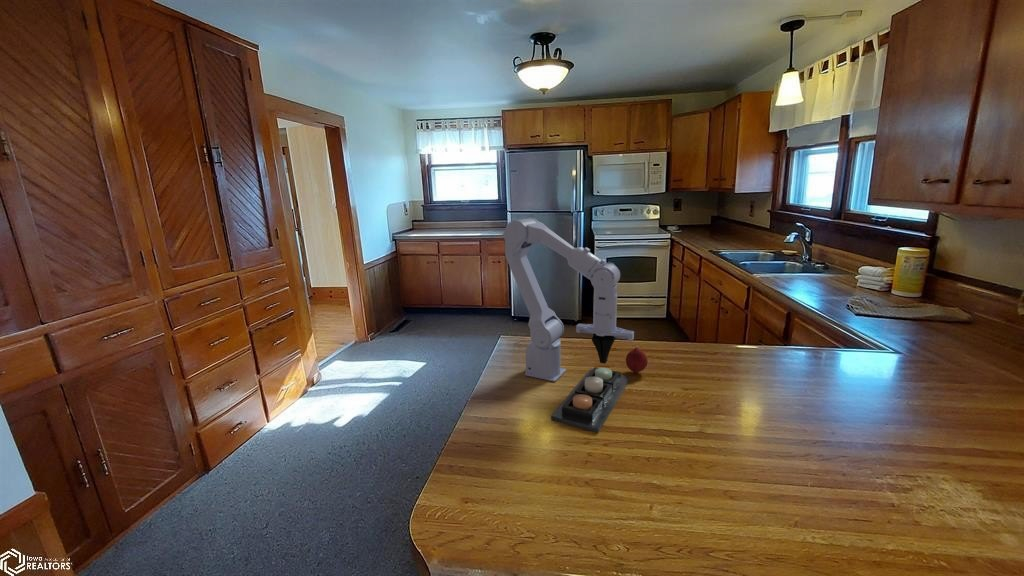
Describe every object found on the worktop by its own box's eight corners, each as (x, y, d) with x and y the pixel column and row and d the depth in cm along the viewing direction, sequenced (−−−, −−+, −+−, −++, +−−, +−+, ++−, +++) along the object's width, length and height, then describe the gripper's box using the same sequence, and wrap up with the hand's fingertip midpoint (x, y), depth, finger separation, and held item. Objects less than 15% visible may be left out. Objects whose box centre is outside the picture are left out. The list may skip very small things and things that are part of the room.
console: (550, 420, 93) (550, 408, 92) (590, 373, 116) (590, 363, 115) (598, 433, 88) (598, 420, 87) (629, 380, 111) (629, 370, 110)
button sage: (592, 382, 108) (592, 373, 107) (597, 375, 111) (598, 366, 111) (609, 385, 105) (609, 376, 105) (613, 378, 109) (614, 369, 109)
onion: (648, 378, 112) (649, 350, 110) (626, 377, 113) (627, 349, 111) (645, 369, 117) (646, 342, 115) (624, 368, 118) (625, 342, 116)
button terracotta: (570, 411, 94) (570, 401, 93) (576, 402, 98) (576, 392, 97) (588, 415, 92) (588, 405, 91) (594, 406, 96) (594, 396, 95)
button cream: (582, 391, 101) (582, 382, 100) (588, 384, 104) (588, 375, 104) (599, 395, 98) (599, 386, 98) (605, 387, 102) (605, 378, 102)
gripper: (572, 312, 104) (571, 362, 107) (630, 320, 97) (627, 373, 100) (581, 305, 110) (581, 352, 113) (636, 312, 103) (634, 362, 106)
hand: (603, 361), depth 107 cm, fingers closed
